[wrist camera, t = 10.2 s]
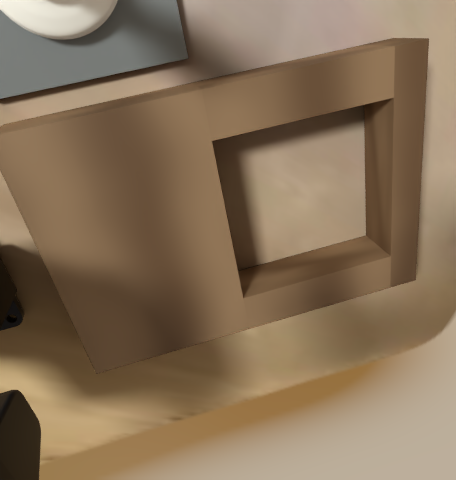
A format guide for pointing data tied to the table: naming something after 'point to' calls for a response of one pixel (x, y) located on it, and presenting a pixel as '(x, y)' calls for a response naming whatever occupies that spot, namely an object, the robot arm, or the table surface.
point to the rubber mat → (91, 48)
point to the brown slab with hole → (210, 200)
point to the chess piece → (58, 16)
